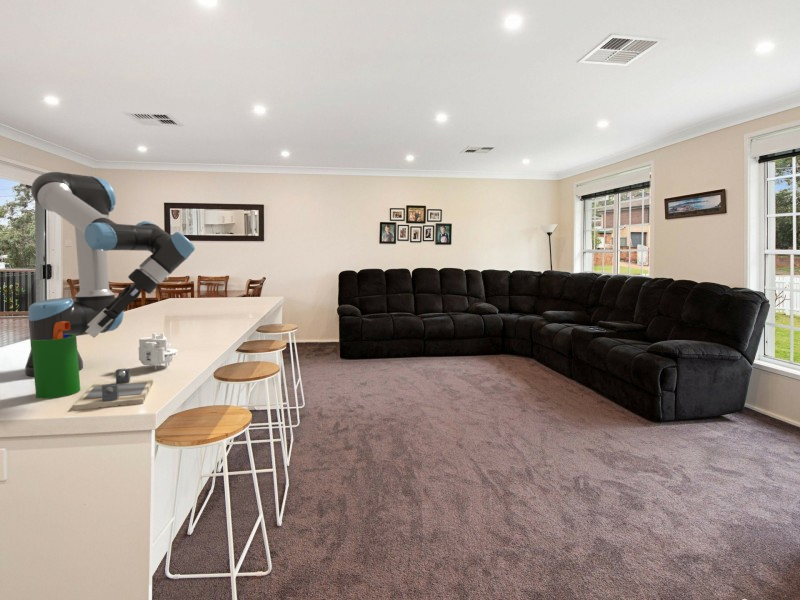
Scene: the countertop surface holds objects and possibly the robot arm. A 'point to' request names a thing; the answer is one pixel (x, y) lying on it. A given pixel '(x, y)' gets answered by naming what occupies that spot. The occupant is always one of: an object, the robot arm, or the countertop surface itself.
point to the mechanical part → (155, 350)
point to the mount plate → (127, 392)
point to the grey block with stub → (122, 376)
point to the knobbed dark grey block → (110, 392)
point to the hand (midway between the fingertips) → (90, 331)
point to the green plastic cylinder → (56, 364)
